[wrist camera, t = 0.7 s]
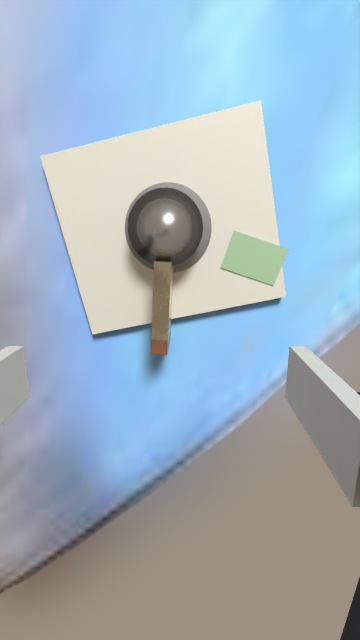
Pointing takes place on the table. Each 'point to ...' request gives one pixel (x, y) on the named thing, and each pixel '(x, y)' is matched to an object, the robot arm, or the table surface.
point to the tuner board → (195, 181)
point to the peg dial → (164, 248)
